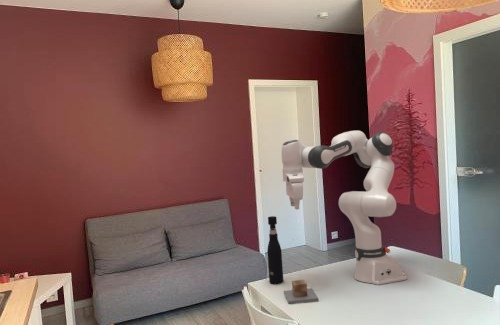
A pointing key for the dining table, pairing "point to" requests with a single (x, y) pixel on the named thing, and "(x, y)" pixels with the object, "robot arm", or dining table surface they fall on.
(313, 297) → the slate board
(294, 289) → the walnut block
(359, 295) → the dining table surface
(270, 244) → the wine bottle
